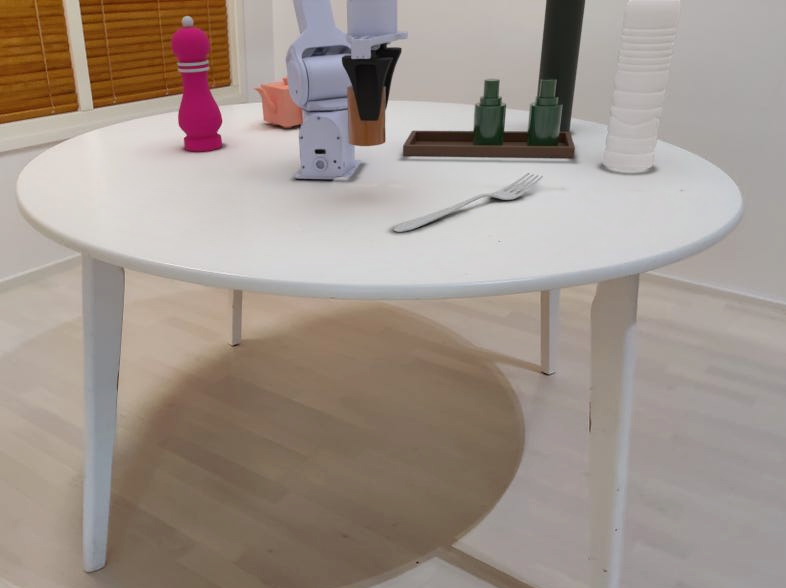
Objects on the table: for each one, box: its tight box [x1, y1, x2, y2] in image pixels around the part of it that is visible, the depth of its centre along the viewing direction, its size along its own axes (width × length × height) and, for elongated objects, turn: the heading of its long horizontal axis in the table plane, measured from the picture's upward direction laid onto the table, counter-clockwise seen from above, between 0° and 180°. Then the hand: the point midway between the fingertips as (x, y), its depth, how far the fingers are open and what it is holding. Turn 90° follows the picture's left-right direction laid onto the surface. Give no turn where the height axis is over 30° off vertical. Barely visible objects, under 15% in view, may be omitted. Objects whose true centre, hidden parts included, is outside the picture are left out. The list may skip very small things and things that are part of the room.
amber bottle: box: [347, 85, 387, 147], centre depth 85 cm, size 5×5×10 cm
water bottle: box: [601, 0, 682, 171], centre depth 92 cm, size 9×6×25 cm
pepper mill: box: [170, 15, 223, 152], centre depth 114 cm, size 7×7×20 cm
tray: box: [402, 130, 576, 160], centre depth 108 cm, size 11×25×2 cm, turn 77°
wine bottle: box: [536, 0, 586, 132], centre depth 111 cm, size 6×6×30 cm
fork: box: [393, 172, 544, 233], centre depth 85 cm, size 3×24×2 cm, turn 128°
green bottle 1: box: [472, 78, 507, 146], centre depth 106 cm, size 5×5×10 cm
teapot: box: [252, 76, 303, 129], centre depth 131 cm, size 12×15×8 cm
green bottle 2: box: [526, 78, 563, 146], centre depth 104 cm, size 5×5×10 cm
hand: (373, 116), depth 86 cm, fingers closed on amber bottle, 4 cm apart
